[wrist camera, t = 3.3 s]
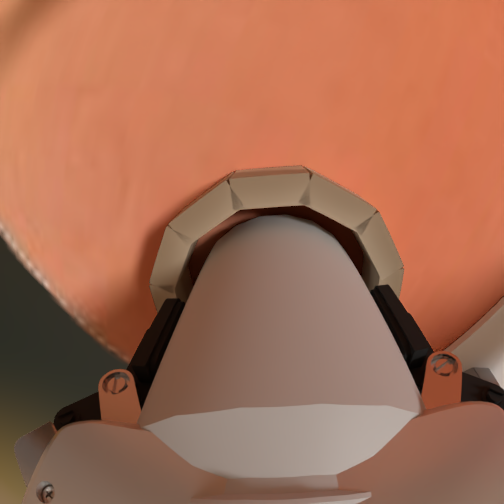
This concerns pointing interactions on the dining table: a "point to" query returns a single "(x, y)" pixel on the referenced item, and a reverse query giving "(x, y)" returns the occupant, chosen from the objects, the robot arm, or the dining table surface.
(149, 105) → the dining table surface
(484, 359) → the holder
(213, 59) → the dining table surface
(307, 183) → the stand ring
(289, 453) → the can
